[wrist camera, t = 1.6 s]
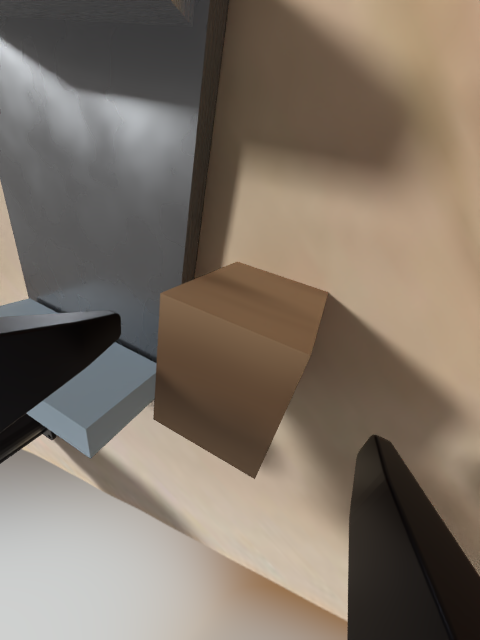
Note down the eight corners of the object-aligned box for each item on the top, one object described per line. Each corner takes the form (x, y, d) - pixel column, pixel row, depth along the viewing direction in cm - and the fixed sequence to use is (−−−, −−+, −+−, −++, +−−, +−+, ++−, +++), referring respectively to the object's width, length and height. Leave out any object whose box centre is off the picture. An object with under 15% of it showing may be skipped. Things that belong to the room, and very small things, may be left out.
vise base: (179, 395, 15) (104, 473, 11) (51, 326, 18) (-50, 363, 14) (235, -51, 7) (-26, -659, 2) (-23, -40, 10) (-360, -271, 5)
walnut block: (288, 384, 12) (254, 478, 7) (218, 351, 13) (153, 419, 8) (328, 292, 9) (310, 355, 5) (237, 261, 10) (160, 292, 6)
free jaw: (161, 392, 14) (90, 458, 10) (35, 323, 17) (-57, 355, 13) (163, 366, 13) (85, 429, 9) (29, 298, 16) (-72, 324, 12)
